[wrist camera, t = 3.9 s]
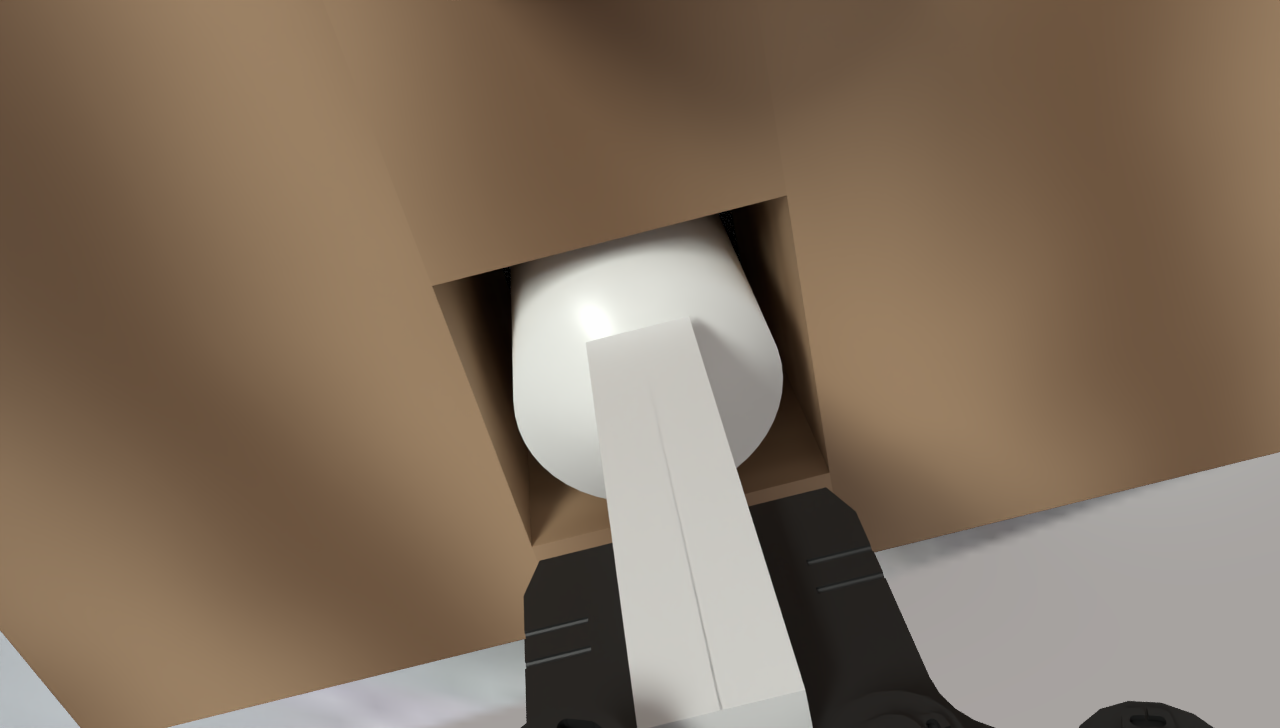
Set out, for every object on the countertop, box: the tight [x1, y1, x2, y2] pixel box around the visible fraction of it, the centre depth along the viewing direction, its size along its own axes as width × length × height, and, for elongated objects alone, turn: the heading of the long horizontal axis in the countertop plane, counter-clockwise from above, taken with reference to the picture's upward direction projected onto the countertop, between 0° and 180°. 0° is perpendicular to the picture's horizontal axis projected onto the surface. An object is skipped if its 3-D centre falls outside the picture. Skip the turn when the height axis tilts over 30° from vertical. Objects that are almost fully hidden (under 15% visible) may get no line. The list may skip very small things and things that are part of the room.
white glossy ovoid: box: [510, 213, 783, 499], centre depth 18 cm, size 4×4×6 cm
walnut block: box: [0, 0, 1280, 728], centre depth 16 cm, size 22×18×7 cm
